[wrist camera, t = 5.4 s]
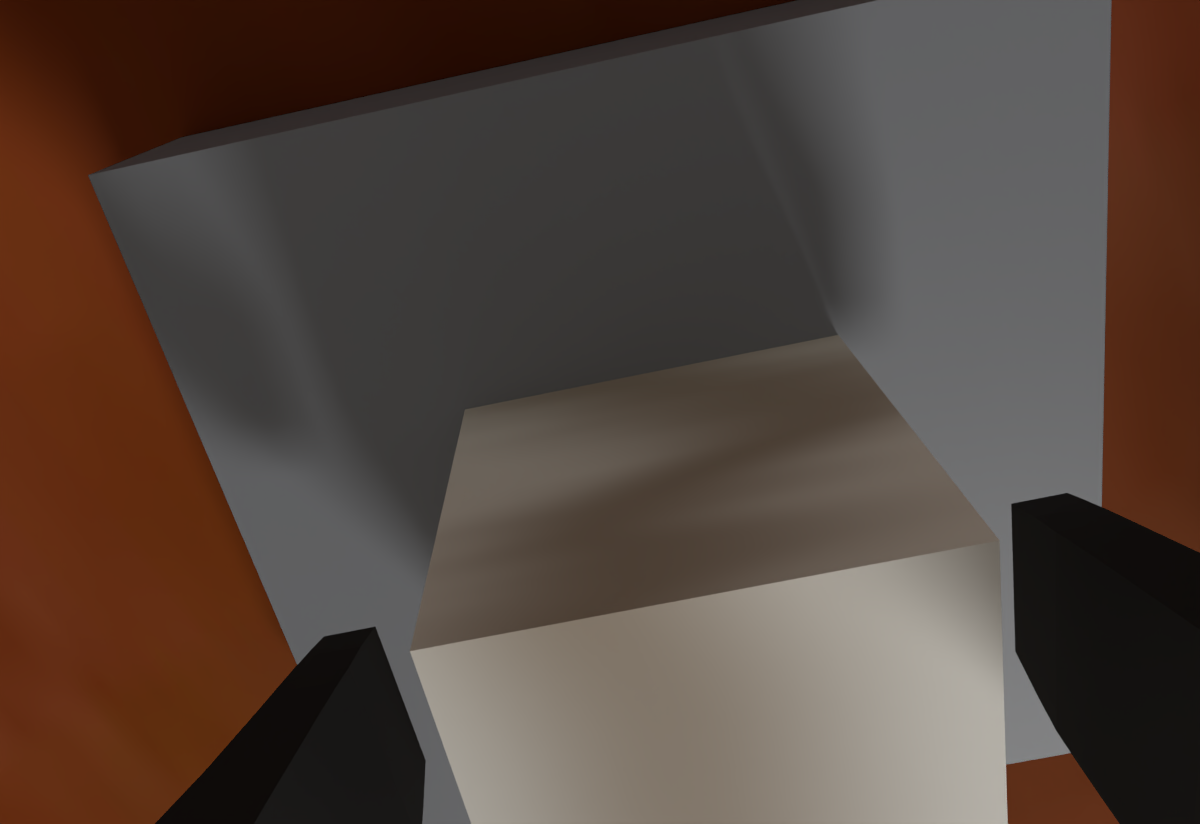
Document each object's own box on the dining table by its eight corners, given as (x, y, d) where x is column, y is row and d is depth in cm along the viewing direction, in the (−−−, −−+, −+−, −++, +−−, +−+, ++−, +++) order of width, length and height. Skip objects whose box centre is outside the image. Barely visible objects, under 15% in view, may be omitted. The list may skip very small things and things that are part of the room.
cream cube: (837, 335, 12) (999, 539, 8) (869, 638, 14) (1011, 942, 10) (464, 409, 13) (409, 651, 8) (547, 697, 15) (541, 1019, 10)
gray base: (998, -45, 13) (1112, -52, 11) (1016, 633, 18) (1096, 748, 15) (181, 137, 14) (87, 175, 11) (412, 746, 19) (387, 875, 16)
